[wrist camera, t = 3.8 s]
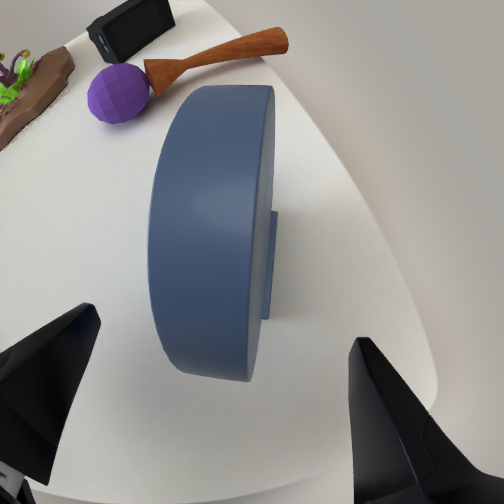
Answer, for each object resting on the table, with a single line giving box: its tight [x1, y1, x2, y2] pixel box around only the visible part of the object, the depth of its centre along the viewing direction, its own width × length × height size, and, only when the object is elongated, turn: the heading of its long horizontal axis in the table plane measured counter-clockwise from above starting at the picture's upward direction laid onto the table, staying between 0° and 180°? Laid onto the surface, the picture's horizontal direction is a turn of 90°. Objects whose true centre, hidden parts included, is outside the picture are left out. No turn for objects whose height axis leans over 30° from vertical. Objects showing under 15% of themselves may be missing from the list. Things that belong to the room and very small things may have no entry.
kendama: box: [88, 27, 289, 124], centre depth 21 cm, size 6×6×20 cm
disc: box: [147, 85, 278, 382], centre depth 12 cm, size 12×3×13 cm, turn 174°
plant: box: [0, 46, 74, 151], centre depth 22 cm, size 20×20×11 cm
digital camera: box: [86, 0, 175, 64], centre depth 23 cm, size 10×5×7 cm, turn 145°
